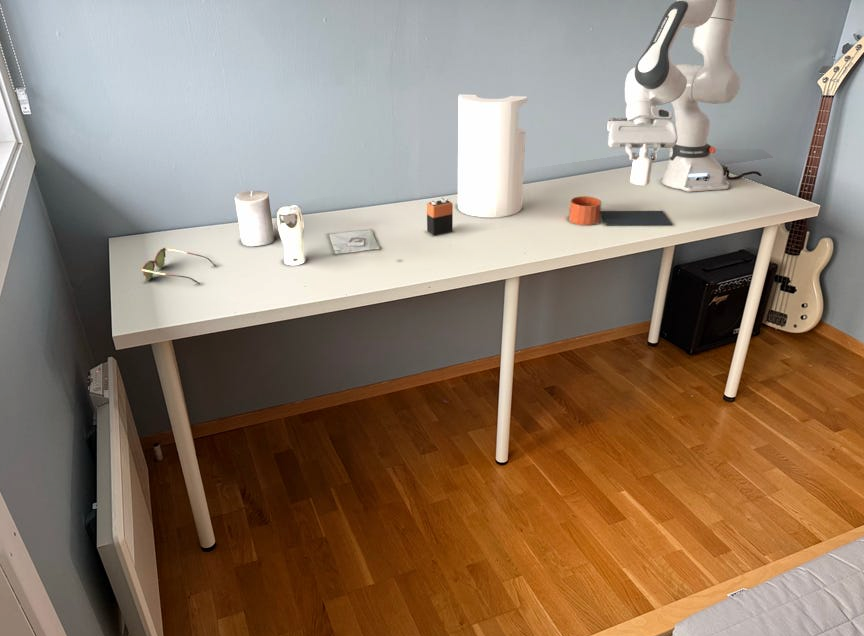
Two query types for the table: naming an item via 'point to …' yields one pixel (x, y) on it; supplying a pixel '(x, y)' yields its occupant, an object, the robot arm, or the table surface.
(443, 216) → the battery
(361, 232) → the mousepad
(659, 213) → the mat
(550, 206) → the table surface
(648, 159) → the eye dropper bottle
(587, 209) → the cup
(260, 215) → the pillar candle
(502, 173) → the white curved half cylinder
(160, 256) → the sunglasses
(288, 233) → the white handheld device
